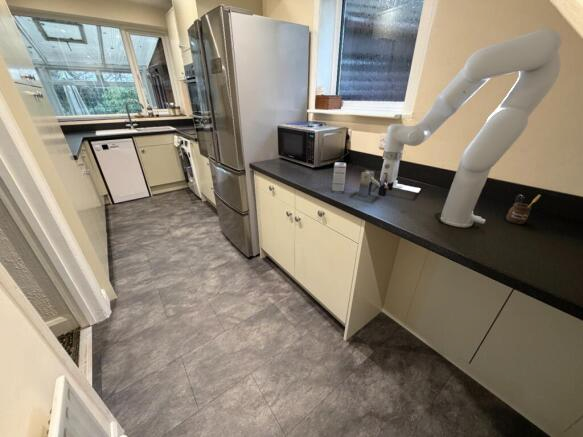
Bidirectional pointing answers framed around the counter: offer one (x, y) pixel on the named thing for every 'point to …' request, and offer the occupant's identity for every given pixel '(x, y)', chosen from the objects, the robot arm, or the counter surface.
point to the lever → (376, 181)
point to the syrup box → (339, 176)
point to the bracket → (366, 183)
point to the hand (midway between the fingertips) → (385, 192)
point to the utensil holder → (520, 212)
